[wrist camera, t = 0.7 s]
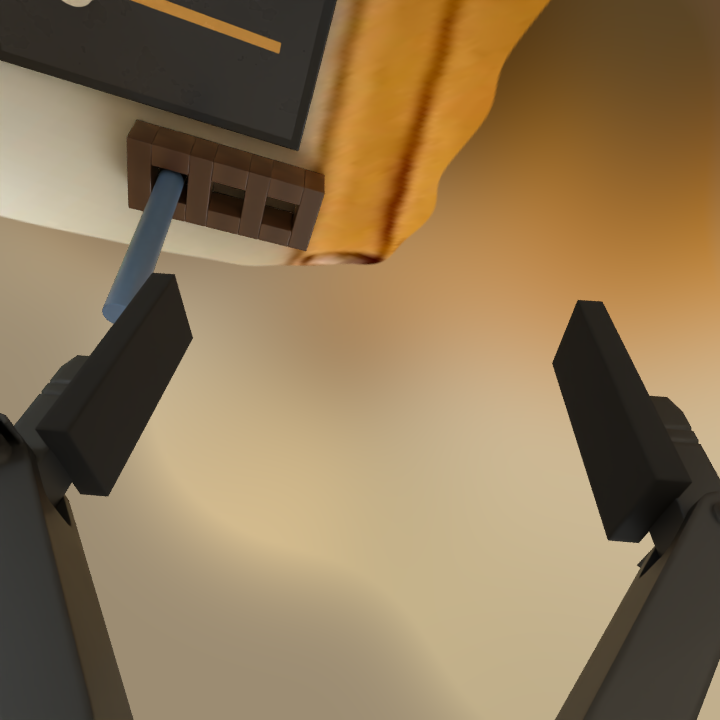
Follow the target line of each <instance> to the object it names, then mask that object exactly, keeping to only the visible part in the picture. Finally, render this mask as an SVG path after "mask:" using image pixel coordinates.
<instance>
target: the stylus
mask: <svg viewBox="0 0 720 720" xmlns="http://www.w3.org/2000/svg"><path fill="white" fill-rule="evenodd" d="M186 177H187V175H186V174H182V173H179V172H175V171H171V170H168V169H164V168H162V169H161V171H160V173H159V176H158V178H157V181H156V183H155V185H154V188H153V190H152V192H151V195H150V197H149V200H148V202H147V204H146V207H145V209H144V211H143V214H142V216H141V219H140V221H139V223H138V226H137V228H136V231H135V233H134V235H133V238H132V240H131V242H130V245H129V247H128V250H127V252H126V254H125V257H124V259H123V262H122V264H121V266H120V269H119V271H118V273H117V276H116V278H115V281H114V283H113V285H112V288H111V290H110V292H109V295H108V297H107V300H106V302H105V304H104V307H103V310H102V312H103V315H104V317H105V318H106V319H107V320H109V321H110V322H112V323H113V324H114V323H115V322H116V320H117V319H118V318H119V316H120V315H121V314H122V312H123V311H124V310H125V308H126V307H127V306H128V304H129V303H130V302H131V300H132V299H133V298H134V296H135V295H136V294H137V292H138V291H139V290H140V288H141V287H142V286H143V284H144V283H145V282H146V280H147V279H148V278H149V276H150V275H151V274H152V273H153V271H154V269H155V266H156V263H157V260H158V257H159V254H160V252H161V249H162V246H163V243H164V240H165V237H166V234H167V232H168V229H169V226H170V223H171V220H172V217H173V214H174V211H175V209H176V206H177V203H178V200H179V197H180V194H181V191H182V188H183V186H184V183H185V180H186Z"/></svg>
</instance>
